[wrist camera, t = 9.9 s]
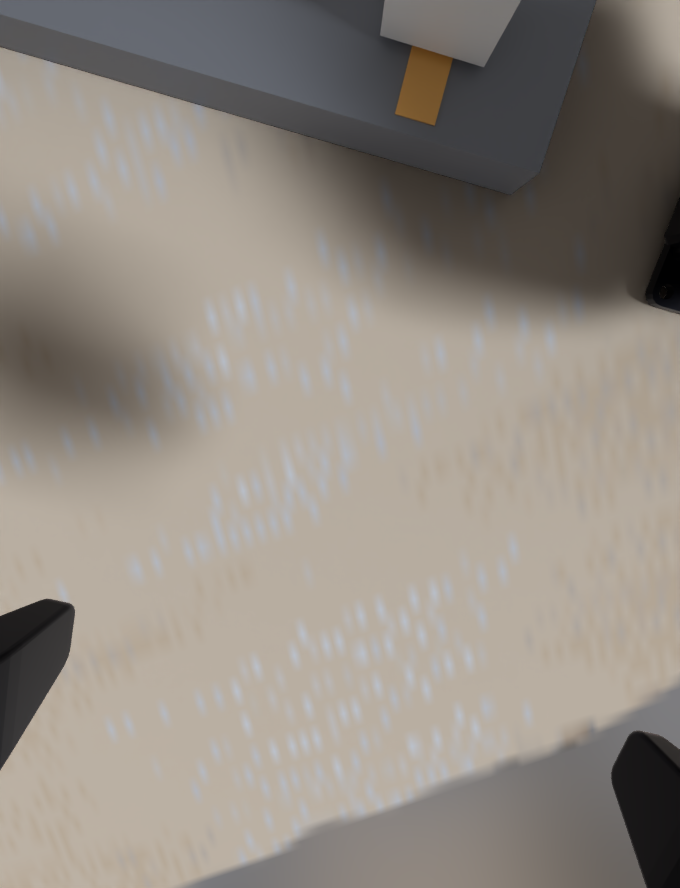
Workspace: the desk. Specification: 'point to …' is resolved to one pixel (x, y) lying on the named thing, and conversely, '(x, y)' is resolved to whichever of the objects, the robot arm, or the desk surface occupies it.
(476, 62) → the fader knob
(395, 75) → the fader board
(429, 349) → the desk surface
